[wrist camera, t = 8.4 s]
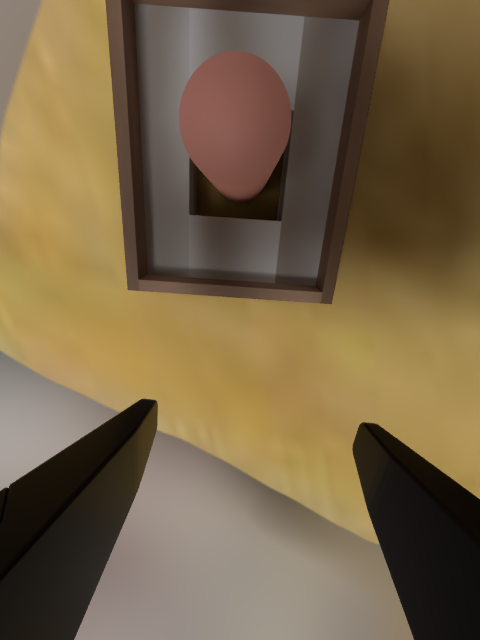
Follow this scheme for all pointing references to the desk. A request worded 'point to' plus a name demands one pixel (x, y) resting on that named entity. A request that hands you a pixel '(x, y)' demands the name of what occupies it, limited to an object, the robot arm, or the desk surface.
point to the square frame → (299, 155)
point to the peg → (235, 122)
